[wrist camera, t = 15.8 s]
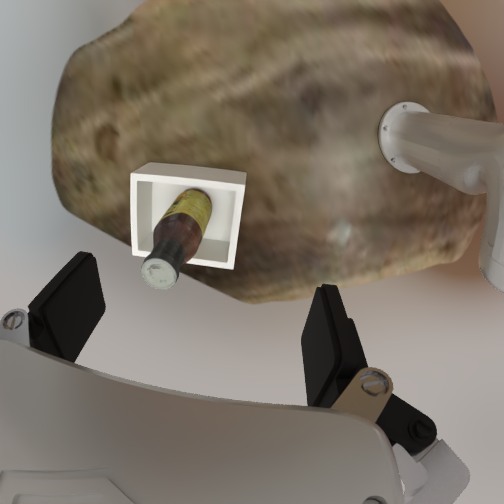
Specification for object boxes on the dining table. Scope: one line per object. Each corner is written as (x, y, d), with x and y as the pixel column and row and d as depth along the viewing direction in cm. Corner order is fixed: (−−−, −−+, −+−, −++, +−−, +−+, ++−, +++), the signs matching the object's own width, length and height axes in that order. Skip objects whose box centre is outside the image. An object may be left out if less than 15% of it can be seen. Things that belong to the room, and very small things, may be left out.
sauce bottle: (183, 181, 43) (137, 233, 26) (219, 195, 44) (196, 257, 27) (170, 216, 46) (125, 283, 29) (205, 230, 47) (178, 304, 30)
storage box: (246, 172, 44) (245, 185, 37) (236, 245, 50) (233, 269, 43) (149, 162, 43) (130, 173, 36) (148, 233, 49) (132, 255, 42)
